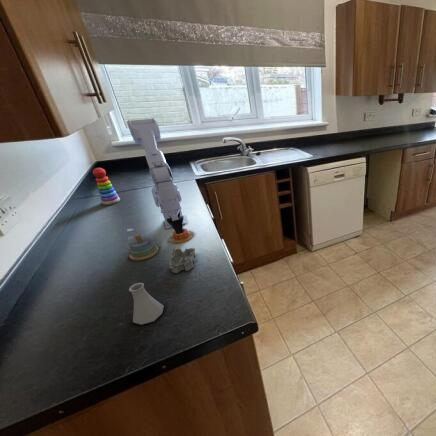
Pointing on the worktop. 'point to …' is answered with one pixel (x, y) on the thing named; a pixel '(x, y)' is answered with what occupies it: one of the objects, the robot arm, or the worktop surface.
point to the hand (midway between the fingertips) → (178, 228)
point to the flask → (144, 305)
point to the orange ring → (181, 235)
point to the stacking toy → (105, 187)
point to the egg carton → (182, 259)
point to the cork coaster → (181, 239)
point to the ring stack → (142, 248)
